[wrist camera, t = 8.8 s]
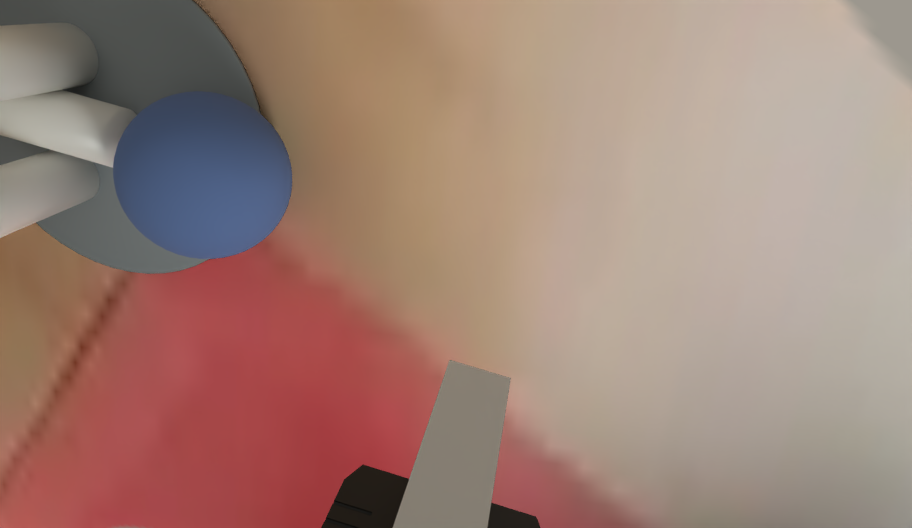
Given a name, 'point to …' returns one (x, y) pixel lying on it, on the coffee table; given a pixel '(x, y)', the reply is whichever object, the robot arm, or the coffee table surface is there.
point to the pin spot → (131, 103)
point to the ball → (202, 175)
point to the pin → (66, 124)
